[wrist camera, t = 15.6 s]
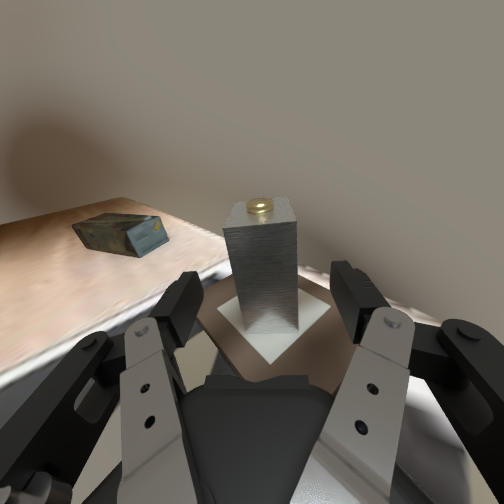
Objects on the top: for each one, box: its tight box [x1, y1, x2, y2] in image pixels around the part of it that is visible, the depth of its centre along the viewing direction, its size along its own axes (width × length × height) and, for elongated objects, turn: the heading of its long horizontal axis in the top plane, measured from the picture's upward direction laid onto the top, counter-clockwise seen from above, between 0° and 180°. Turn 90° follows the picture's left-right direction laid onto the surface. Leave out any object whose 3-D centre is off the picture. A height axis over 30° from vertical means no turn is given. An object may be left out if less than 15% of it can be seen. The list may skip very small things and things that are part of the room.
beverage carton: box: [72, 213, 169, 258], centre depth 41 cm, size 8×19×7 cm, turn 65°
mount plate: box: [196, 274, 360, 397], centre depth 19 cm, size 16×12×1 cm
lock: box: [223, 196, 299, 335], centre depth 16 cm, size 4×6×11 cm
